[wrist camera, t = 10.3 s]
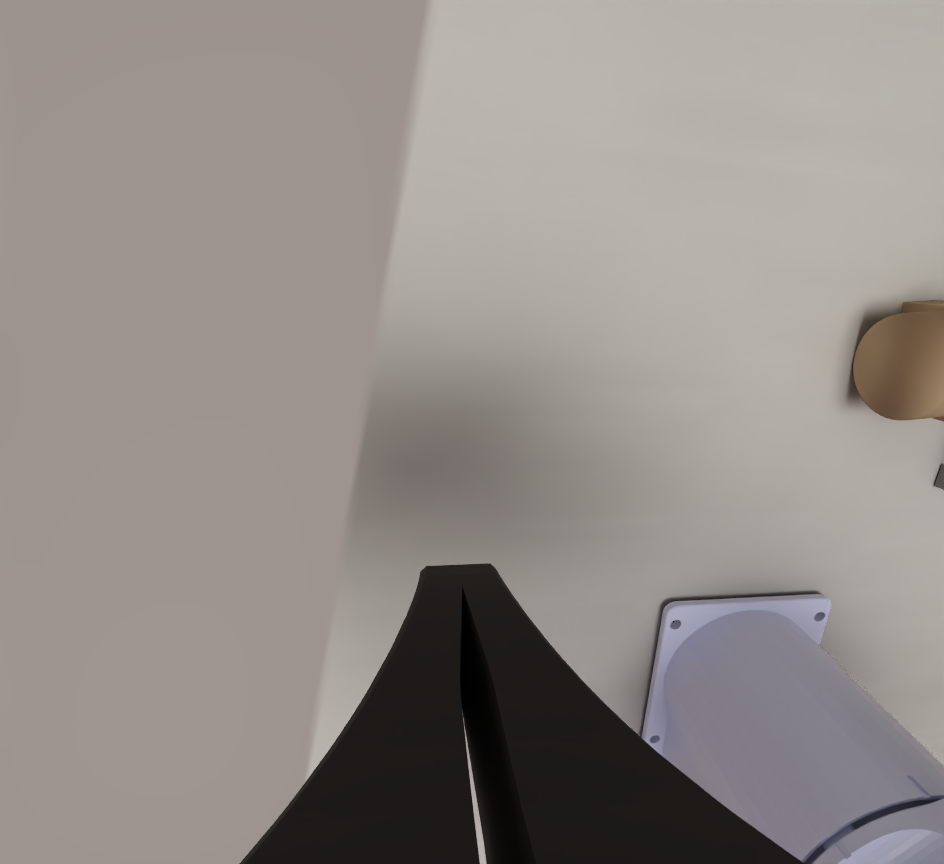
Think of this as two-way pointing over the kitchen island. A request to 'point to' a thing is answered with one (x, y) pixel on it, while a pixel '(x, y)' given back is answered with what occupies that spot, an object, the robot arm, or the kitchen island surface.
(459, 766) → the robot arm
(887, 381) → the light wooden rod
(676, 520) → the kitchen island surface
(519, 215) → the kitchen island surface
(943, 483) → the collar
